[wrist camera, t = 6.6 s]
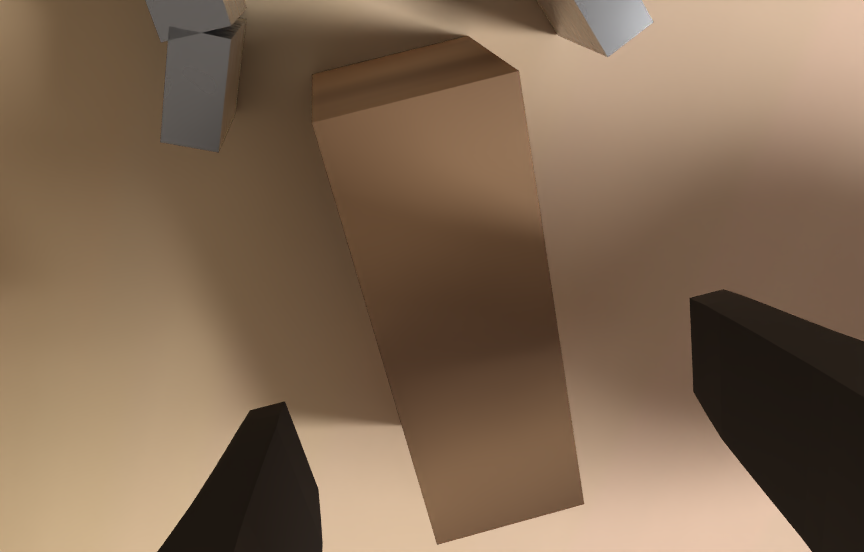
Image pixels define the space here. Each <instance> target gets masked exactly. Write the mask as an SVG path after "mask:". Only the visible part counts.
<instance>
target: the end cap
mask: <svg viewBox="0 0 864 552" xmlns="http://www.w3.org/2000/svg"><path fill="white" fill-rule="evenodd" d="M145 1H146V4H147V6H148V9H149V12H150V14H151V17H152V20H153V22H154V25H155V28H156V30H157V33H158V36H159V38H160V41H161V42H165V41H168V46H167V60H166V73H165V87H164V100H163V114H162V127H161V141H160V142H162V143H168V144H174V145H179V146H185V147H191V148H196V149H202V150H208V151H213V152H219V150H220V148H221V146H222V144H223V141H224V139H225V137H226V134H227V132H228V130H229V127H230V125H231V123H232V121H233V118H234V116H235V113H236V104H237V96H238V87H239V79H240V70H241V62H242V53H243V44H244V36H245V27H246V19H243V18H239V16H240V15H241V14H242V13H243V12H244V11H245V9H246V8H247V7H246V4H245V1H244V0H145ZM536 1H537V2H538V4H539V5H540V7H541V9H542V10H543V12H544V13H545V15H546V17H547V18H548V20H549V22H550V23H551V25H552V26H553V28H554V30H555V31H556V33H557V34H558V36H561V37H563V38H565V39H567V40H570V41H572V42H574V43H577V44H579V45H581V46H584V47H586V48H588V49H590V50H593V51H595V52H597V53H600V54H602V55H604V56H607V57H609V56H610V55H611V54H613V53H614V52H615V51H617V50H618V49H619V48H620V47H622V46H623V45H624V44H626V43H627V42H628V41H630V40H631V39H632V38H633V37H635V36H636V35H637V34H639V33H640V32H641V31H643V30H644V29H645V28H647V27H648V26H649V25H650V24H652V23H653V20H652V18H651V17H650V15H649V13H648V11H647V9H646V7H645V6H644V4H643V2H642V0H536Z"/></svg>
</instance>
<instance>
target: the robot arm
mask: <svg viewBox="0 0 864 552" xmlns="http://www.w3.org/2000/svg"><path fill="white" fill-rule="evenodd" d="M690 317H691V342H692V366H693V391H694V393H695V395H696V397H697V399H698V400H699V402H700V404H701V405H702V407H703V409H704V411H705V412H706V414H707V416H708V417H709V419H710V421H711V422H712V424H713V425H714V427H715V429H716V430H717V432H718V434H719V435H720V437H721V438H722V440H723V441H724V442H725V443H726V445H727V446H728V447H729V449H730V450H731V451H732V452H733V454H734V455H735V456H736V457H737V459H738V460H739V461H740V462H741V464H742V465H743V466H744V467H745V469H746V470H747V471H748V472H749V474H750V475H751V476H752V477H753V479H754V480H755V481H756V482H757V484H758V485H759V486H760V487H761V488H762V490H763V491H764V492H765V493H766V495H767V496H768V497H769V498H770V500H771V501H772V502H773V503H774V504H775V506H776V507H777V508H778V509H779V511H780V512H781V513H782V514H783V516H784V517H785V518H786V519H787V520H788V522H789V523H790V524H791V525H792V527H793V528H794V529H795V530H796V532H797V533H798V534H799V535H800V536H801V538H802V539H803V540H804V542H805V543H806V544H807V546H808V547H809V548H810V550H811V551H812V552H864V342H863V341H861V340H858V339H855V338H852V337H849V336H846V335H844V334H841V333H838V332H836V331H833V330H830V329H827V328H825V327H822V326H820V325H817V324H814V323H812V322H809V321H806V320H804V319H801V318H799V317H796V316H794V315H791V314H788V313H786V312H783V311H781V310H778V309H776V308H773V307H771V306H768V305H766V304H763V303H760V302H758V301H755V300H753V299H750V298H747V297H745V296H742V295H739V294H736V293H733V292H730V291H727V290H724V289H723V290H719V291H715V292H711V293H708V294H704V295H700V296H696V297H692V298H690ZM322 544H323V543H322V528H321V515H320V503H319V491H318V487H317V485H316V482H315V479H314V477H313V474H312V471H311V469H310V466H309V463H308V461H307V458H306V456H305V453H304V450H303V448H302V445H301V442H300V440H299V437H298V435H297V432H296V429H295V427H294V424H293V421H292V419H291V416H290V414H289V411H288V408H287V406H286V403H285V402H281V403H277V404H273V405H269V406H265V407H261V408H257V409H254V410H250V411H249V413H248V415H247V416H246V418H245V419H244V421H243V422H242V424H241V426H240V427H239V429H238V430H237V432H236V434H235V435H234V437H233V439H232V440H231V442H230V444H229V445H228V447H227V449H226V450H225V452H224V454H223V455H222V457H221V458H220V460H219V462H218V463H217V465H216V467H215V468H214V470H213V471H212V473H211V475H210V476H209V478H208V479H207V481H206V482H205V484H204V486H203V487H202V489H201V490H200V492H199V493H198V495H197V496H196V498H195V500H194V501H193V503H192V504H191V506H190V507H189V508H188V510H187V511H186V513H185V514H184V515H183V517H182V518H181V520H180V521H179V522H178V524H177V525H176V527H175V528H174V530H173V531H172V532H171V534H170V535H169V537H168V538H167V539H166V541H165V542H164V544H163V545H162V546H161V548H160V549H159V550H158V551H157V552H322Z"/></svg>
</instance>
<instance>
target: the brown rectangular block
mask: <svg viewBox="0 0 864 552" xmlns="http://www.w3.org/2000/svg"><path fill="white" fill-rule="evenodd" d="M312 125H313V128H314V132H315V135H316V138H317V142H318V145H319V148H320V152H321V155H322V158H323V162H324V165H325V169H326V172H327V175H328V179H329V182H330V185H331V189H332V192H333V196H334V199H335V202H336V206H337V209H338V212H339V216H340V219H341V222H342V226H343V229H344V233H345V236H346V239H347V243H348V246H349V249H350V253H351V256H352V259H353V263H354V266H355V270H356V273H357V276H358V280H359V283H360V286H361V290H362V293H363V297H364V300H365V303H366V307H367V310H368V313H369V317H370V320H371V323H372V327H373V330H374V334H375V337H376V340H377V344H378V347H379V350H380V354H381V357H382V360H383V364H384V367H385V371H386V374H387V377H388V381H389V384H390V387H391V391H392V394H393V398H394V401H395V404H396V408H397V411H398V414H399V418H400V421H401V424H402V428H403V431H404V435H405V438H406V441H407V445H408V448H409V451H410V455H411V458H412V461H413V465H414V468H415V472H416V475H417V478H418V482H419V485H420V488H421V492H422V495H423V498H424V502H425V505H426V509H427V512H428V515H429V519H430V522H431V525H432V529H433V532H434V536H435V539H436V542H437V545H438V544H442V543H445V542H449V541H452V540H456V539H460V538H463V537H467V536H471V535H474V534H478V533H481V532H485V531H489V530H492V529H496V528H499V527H503V526H507V525H510V524H514V523H518V522H521V521H525V520H528V519H532V518H536V517H539V516H543V515H546V514H550V513H554V512H557V511H561V510H565V509H568V508H572V507H575V506H579V505H583V504H584V500H583V493H582V487H581V480H580V474H579V467H578V460H577V454H576V447H575V440H574V434H573V427H572V420H571V414H570V407H569V401H568V394H567V387H566V381H565V374H564V367H563V361H562V354H561V347H560V341H559V334H558V328H557V321H556V314H555V308H554V301H553V294H552V288H551V281H550V274H549V268H548V261H547V255H546V248H545V241H544V235H543V228H542V221H541V215H540V208H539V201H538V195H537V188H536V182H535V175H534V168H533V162H532V155H531V148H530V142H529V135H528V128H527V122H526V115H525V109H524V102H523V95H522V89H521V82H520V75H519V71H518V70H517V69H515V68H514V67H512V66H511V65H509V64H508V63H507V62H505V61H504V60H502V59H501V58H499V57H498V56H496V55H495V54H493V53H492V52H491V51H489V50H488V49H486V48H485V47H483V46H482V45H480V44H479V43H478V42H476V41H475V40H473V39H472V38H470V37H469V36H465V37H461V38H457V39H453V40H448V41H444V42H440V43H436V44H432V45H428V46H424V47H420V48H416V49H412V50H408V51H404V52H400V53H396V54H392V55H388V56H384V57H380V58H376V59H372V60H368V61H364V62H360V63H356V64H352V65H348V66H344V67H340V68H336V69H332V70H328V71H323V72H319V73H315V74H312Z"/></svg>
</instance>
